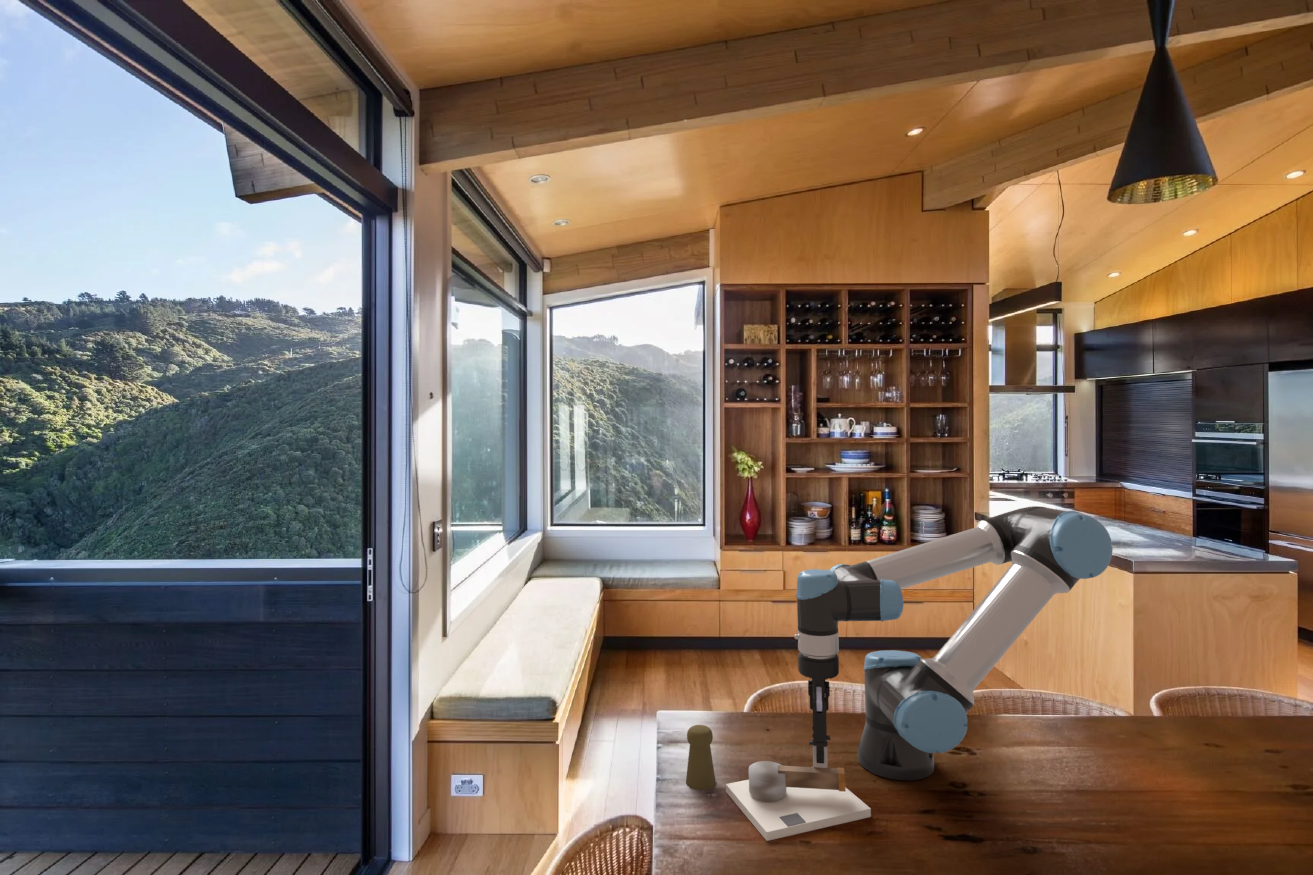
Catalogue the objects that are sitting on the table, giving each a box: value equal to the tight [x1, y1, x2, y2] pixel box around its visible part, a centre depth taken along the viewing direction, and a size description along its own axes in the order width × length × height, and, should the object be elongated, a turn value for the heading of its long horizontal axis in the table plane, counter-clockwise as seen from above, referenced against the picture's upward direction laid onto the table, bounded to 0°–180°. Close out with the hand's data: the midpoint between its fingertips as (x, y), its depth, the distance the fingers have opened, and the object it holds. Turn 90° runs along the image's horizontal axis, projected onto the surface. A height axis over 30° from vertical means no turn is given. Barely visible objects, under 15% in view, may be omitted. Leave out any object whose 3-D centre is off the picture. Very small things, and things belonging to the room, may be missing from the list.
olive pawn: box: [685, 724, 717, 791], centre depth 134 cm, size 6×6×11 cm
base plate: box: [725, 779, 872, 842], centre depth 125 cm, size 21×17×2 cm
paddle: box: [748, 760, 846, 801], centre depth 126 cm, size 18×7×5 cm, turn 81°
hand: (820, 776), depth 127 cm, fingers closed
